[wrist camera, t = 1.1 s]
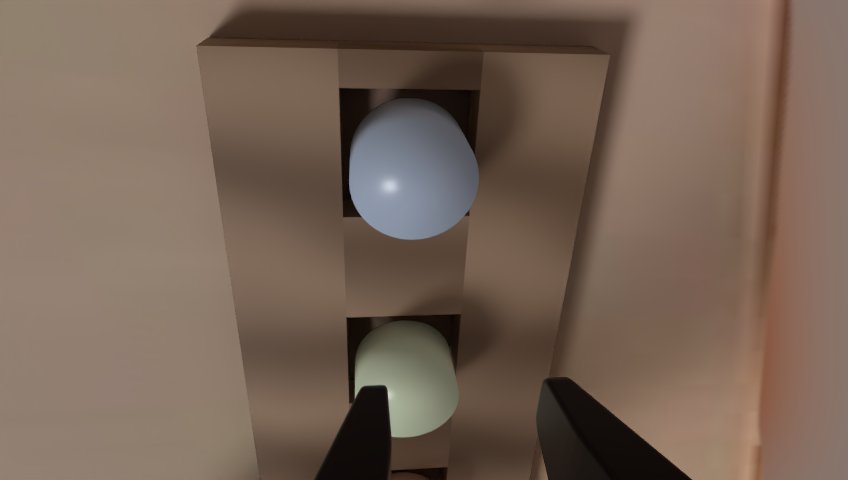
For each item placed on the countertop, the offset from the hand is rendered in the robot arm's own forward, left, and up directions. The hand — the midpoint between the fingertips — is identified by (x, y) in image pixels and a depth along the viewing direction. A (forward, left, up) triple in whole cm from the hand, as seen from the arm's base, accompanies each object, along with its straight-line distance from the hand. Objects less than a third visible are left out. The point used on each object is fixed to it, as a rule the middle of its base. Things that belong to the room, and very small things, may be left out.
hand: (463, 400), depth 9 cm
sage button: (-9, 0, -12) cm, 15 cm away
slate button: (0, 0, -12) cm, 12 cm away
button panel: (-9, 0, -13) cm, 16 cm away
